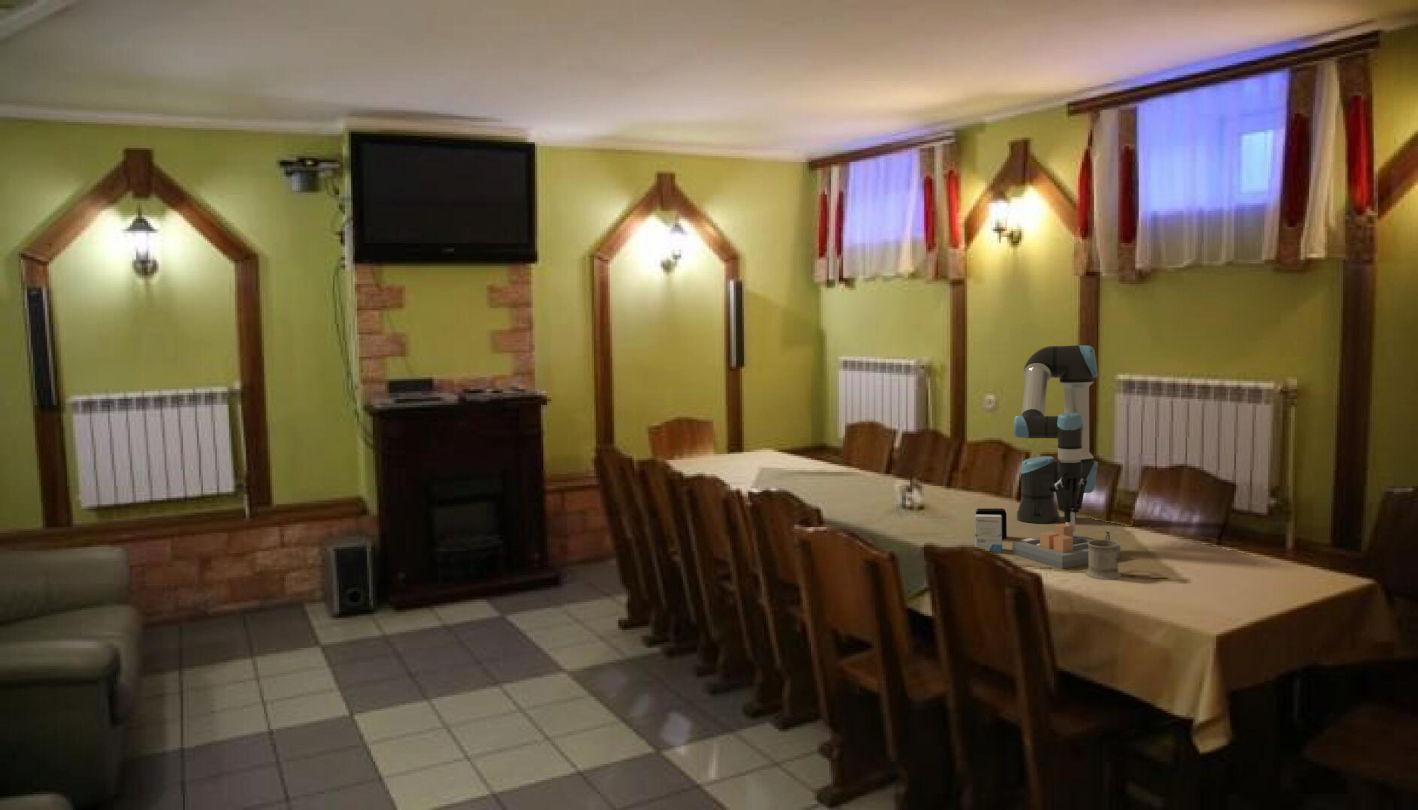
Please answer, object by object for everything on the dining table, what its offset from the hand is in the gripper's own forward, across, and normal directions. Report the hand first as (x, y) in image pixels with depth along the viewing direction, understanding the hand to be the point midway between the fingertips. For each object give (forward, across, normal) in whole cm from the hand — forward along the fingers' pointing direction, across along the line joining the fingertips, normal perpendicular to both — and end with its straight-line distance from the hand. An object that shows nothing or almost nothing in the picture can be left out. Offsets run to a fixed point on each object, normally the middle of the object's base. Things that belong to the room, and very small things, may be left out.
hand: (1070, 531), depth 326 cm
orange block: (+4, +15, +12) cm, 19 cm away
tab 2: (+4, +3, 0) cm, 5 cm away
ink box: (+6, +23, -13) cm, 27 cm away
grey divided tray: (+6, +8, +6) cm, 11 cm away
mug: (+6, +13, +27) cm, 30 cm away
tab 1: (+4, +15, +6) cm, 16 cm away
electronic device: (+6, +11, -26) cm, 29 cm away
